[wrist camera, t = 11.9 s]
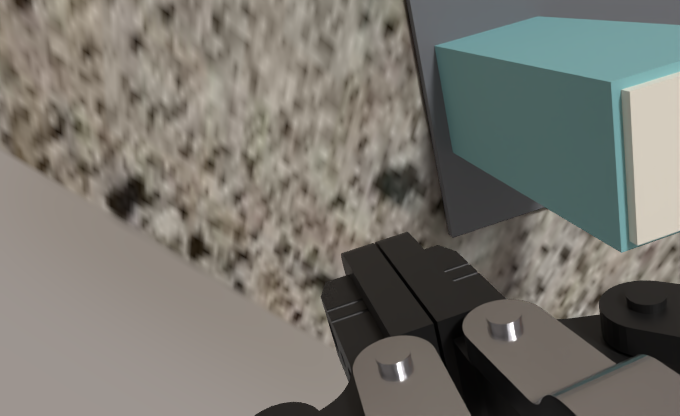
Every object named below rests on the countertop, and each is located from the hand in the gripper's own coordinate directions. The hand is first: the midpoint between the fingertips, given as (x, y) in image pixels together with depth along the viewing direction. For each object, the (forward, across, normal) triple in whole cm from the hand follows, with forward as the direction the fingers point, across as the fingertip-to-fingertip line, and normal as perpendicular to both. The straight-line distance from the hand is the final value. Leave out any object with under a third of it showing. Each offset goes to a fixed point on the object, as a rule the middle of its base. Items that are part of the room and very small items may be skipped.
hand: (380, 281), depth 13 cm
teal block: (+12, -9, 0) cm, 15 cm away
